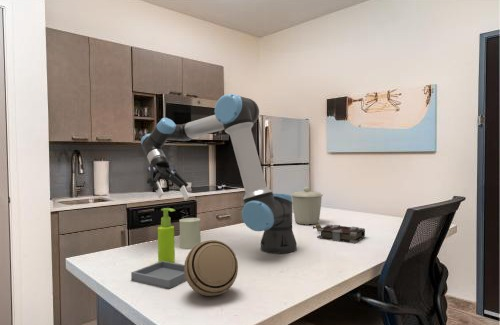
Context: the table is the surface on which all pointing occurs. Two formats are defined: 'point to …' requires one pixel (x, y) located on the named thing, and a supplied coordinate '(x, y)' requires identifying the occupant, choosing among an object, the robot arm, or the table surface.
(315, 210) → the canister
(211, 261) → the tan ball
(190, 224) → the can
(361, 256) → the table surface
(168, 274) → the tray
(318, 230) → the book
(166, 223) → the soap dispenser
